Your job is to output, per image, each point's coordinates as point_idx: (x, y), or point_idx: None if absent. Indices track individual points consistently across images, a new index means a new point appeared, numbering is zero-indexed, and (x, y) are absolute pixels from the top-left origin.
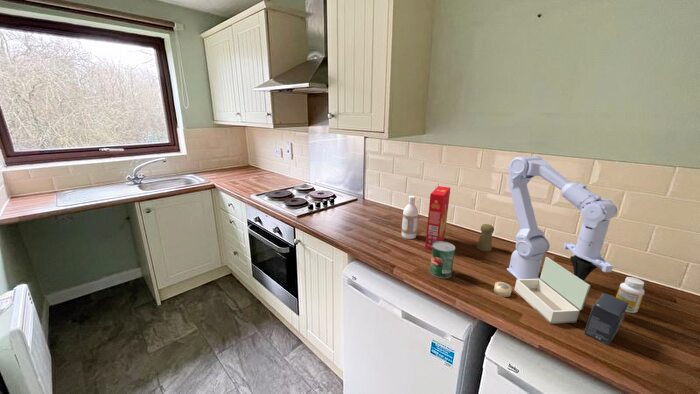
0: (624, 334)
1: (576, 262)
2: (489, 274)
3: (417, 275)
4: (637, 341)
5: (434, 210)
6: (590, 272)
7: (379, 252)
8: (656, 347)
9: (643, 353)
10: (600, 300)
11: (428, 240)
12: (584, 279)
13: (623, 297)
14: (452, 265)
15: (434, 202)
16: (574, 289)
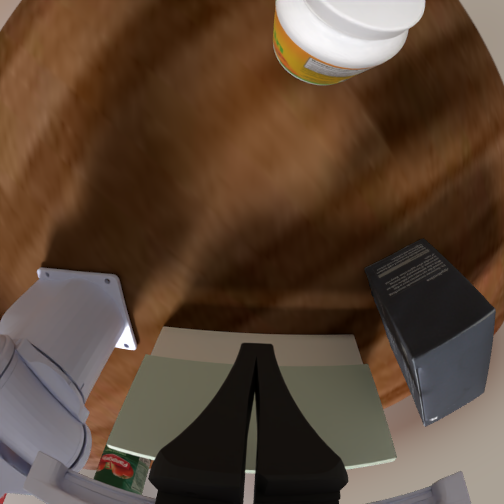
0: (437, 233)
1: (243, 497)
2: (107, 386)
3: (151, 465)
4: (463, 223)
5: None
6: (294, 402)
7: (94, 460)
8: (488, 192)
9: (483, 255)
10: (429, 401)
11: None
12: (273, 355)
13: (343, 75)
14: (133, 463)
15: (4, 494)
16: (328, 419)
